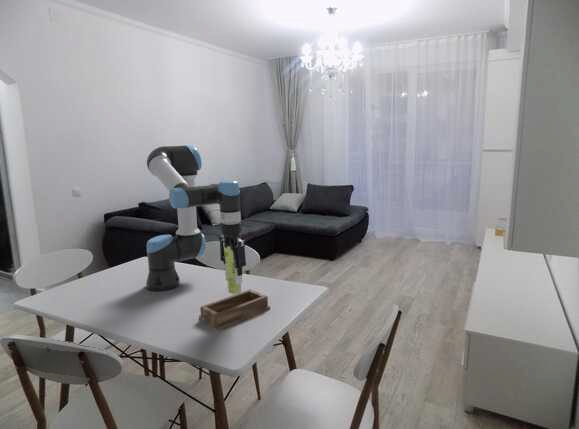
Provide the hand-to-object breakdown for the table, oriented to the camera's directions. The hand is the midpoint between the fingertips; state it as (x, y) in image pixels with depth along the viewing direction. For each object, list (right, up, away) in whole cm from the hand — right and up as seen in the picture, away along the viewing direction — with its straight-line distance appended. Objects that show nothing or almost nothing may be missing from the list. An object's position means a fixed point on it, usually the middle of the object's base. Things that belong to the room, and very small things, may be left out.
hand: (233, 281), depth 151 cm
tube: (0, -4, +1) cm, 5 cm away
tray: (0, -13, +3) cm, 13 cm away
